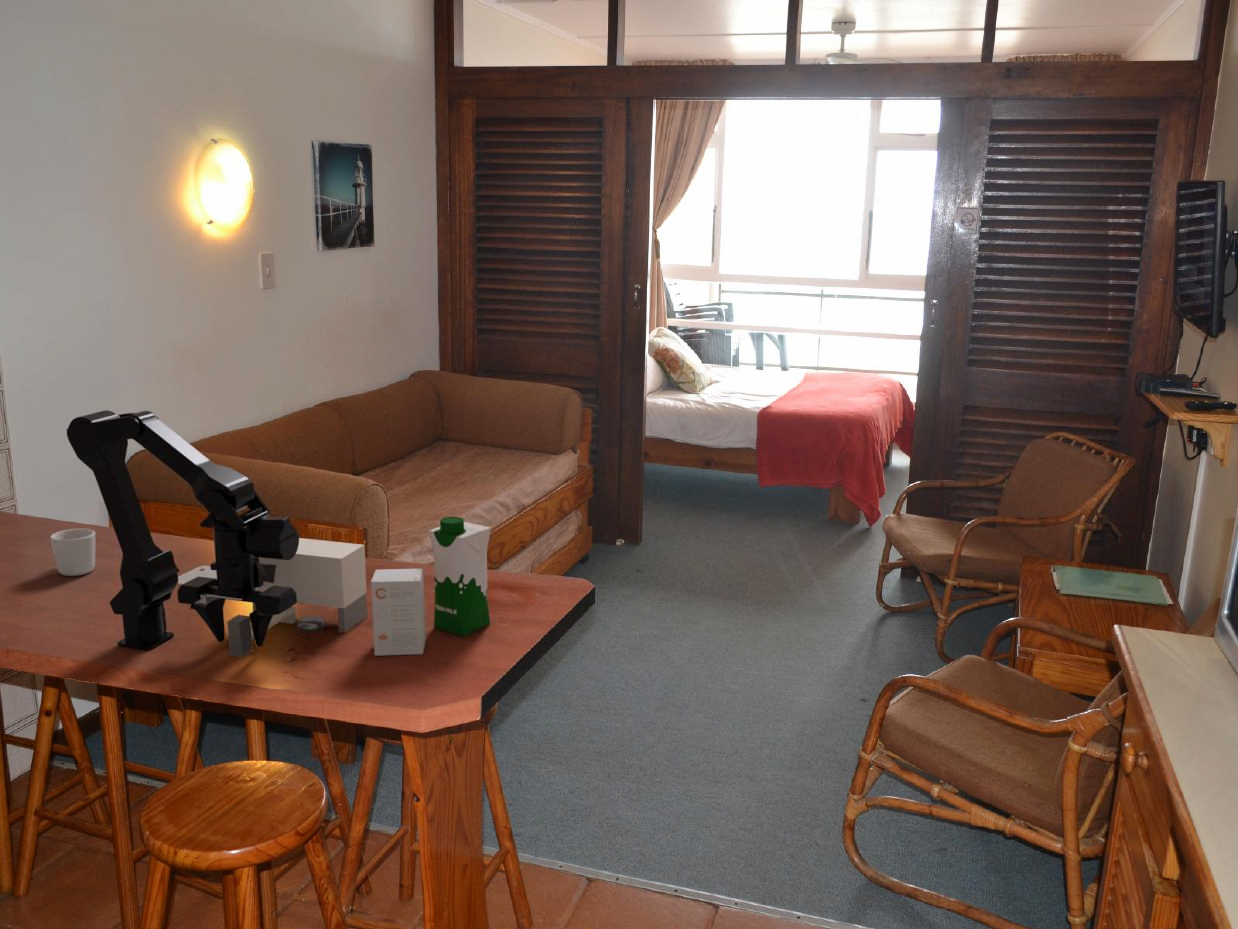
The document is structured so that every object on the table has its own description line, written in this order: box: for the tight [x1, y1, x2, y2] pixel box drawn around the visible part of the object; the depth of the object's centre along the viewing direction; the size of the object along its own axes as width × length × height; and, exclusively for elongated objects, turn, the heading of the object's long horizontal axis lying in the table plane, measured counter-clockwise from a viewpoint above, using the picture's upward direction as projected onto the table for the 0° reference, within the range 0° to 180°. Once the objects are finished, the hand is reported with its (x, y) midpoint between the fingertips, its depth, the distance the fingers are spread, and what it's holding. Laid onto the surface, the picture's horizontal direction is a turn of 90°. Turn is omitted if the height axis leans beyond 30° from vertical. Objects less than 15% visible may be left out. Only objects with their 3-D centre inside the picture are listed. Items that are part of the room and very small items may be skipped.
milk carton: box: [428, 516, 492, 637], centre depth 185 cm, size 9×9×20 cm
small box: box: [370, 568, 427, 657], centre depth 176 cm, size 8×6×13 cm
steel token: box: [296, 615, 325, 634], centre depth 186 cm, size 4×4×2 cm
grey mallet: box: [226, 606, 297, 658], centre depth 180 cm, size 16×2×6 cm, turn 165°
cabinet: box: [252, 537, 369, 634], centre depth 188 cm, size 8×18×14 cm, turn 75°
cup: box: [49, 528, 96, 577], centre depth 212 cm, size 11×8×8 cm
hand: (240, 644), depth 174 cm, fingers open, 7 cm apart
